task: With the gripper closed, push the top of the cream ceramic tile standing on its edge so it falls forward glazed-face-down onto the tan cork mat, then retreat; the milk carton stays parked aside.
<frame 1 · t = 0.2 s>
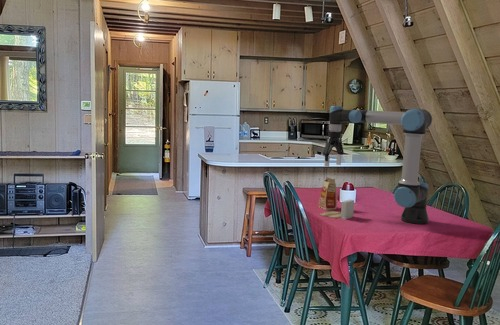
hand: (332, 165, 296), 28 cm above the table, fingers open, 13 cm apart
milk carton: (327, 208, 305), on the table
tile: (346, 217, 281), on the table
cork mat: (333, 214, 287), on the table
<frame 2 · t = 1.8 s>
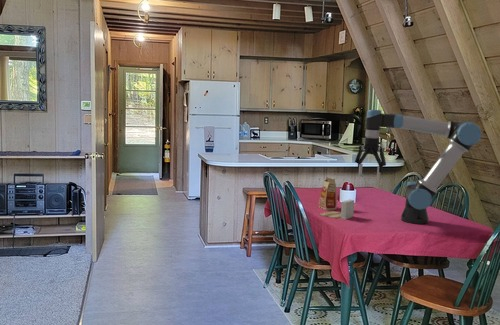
hand: (369, 176, 270), 26 cm above the table, fingers open, 10 cm apart
nothing on the table moved.
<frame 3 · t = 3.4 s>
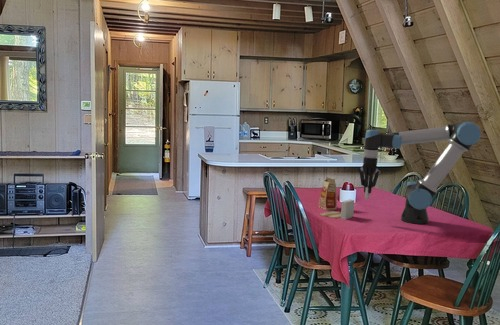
hand: (366, 198, 272), 13 cm above the table, fingers closed
nothing on the table moved.
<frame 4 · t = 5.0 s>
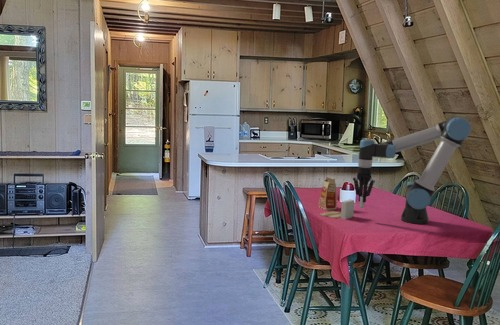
hand: (361, 207, 274), 8 cm above the table, fingers closed
nothing on the table moved.
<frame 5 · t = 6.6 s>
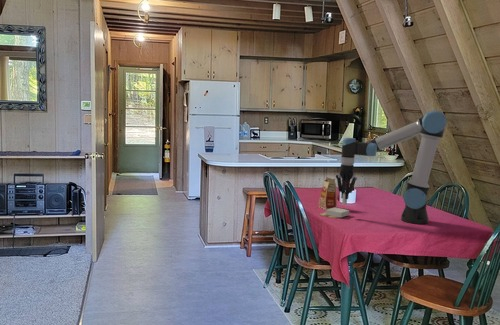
hand: (344, 204, 281), 8 cm above the table, fingers closed
tile: (345, 213, 282), point 2 cm above the table, tilted 90°, touching cork mat
everything else where it was.
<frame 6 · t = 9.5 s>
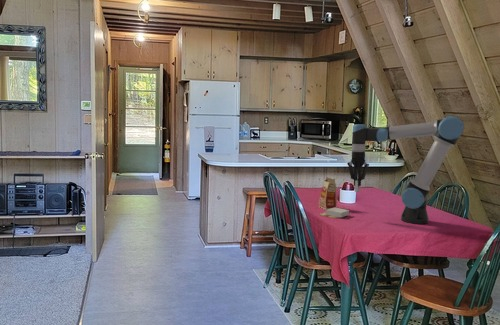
hand: (357, 191, 280), 16 cm above the table, fingers closed
nothing on the table moved.
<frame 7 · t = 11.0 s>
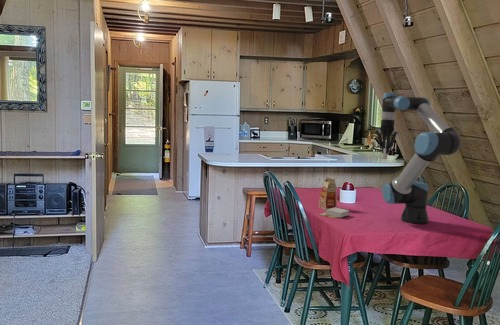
hand: (384, 159, 286), 34 cm above the table, fingers closed
nothing on the table moved.
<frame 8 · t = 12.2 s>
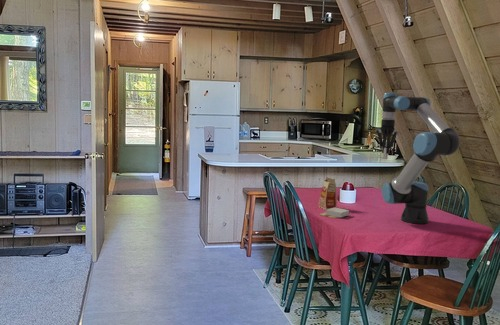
hand: (385, 158, 287), 34 cm above the table, fingers closed
nothing on the table moved.
at the end: tile tilted 90°; tile inside the target area (5.1 cm from its centre), point 1.9 cm above the table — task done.
